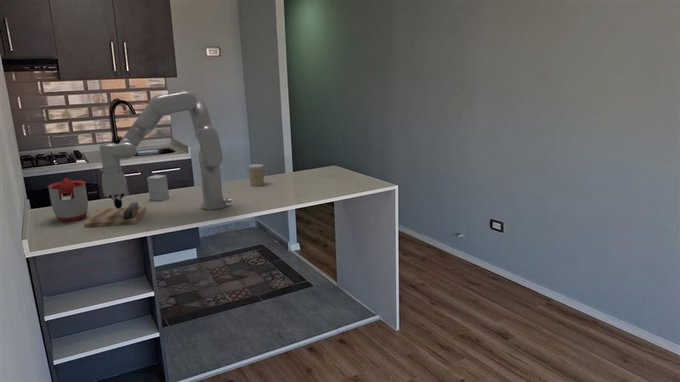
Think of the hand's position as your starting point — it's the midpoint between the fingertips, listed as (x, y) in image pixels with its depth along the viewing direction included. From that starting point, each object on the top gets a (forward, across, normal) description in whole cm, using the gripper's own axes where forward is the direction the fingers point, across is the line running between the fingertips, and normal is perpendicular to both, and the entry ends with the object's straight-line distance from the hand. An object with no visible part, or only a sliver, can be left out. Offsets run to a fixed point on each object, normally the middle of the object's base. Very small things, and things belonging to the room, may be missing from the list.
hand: (118, 207), depth 226 cm
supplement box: (+6, +12, +33) cm, 36 cm away
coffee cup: (+8, +65, +52) cm, 84 cm away
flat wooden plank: (+6, -2, +1) cm, 6 cm away
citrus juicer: (+5, -23, +5) cm, 24 cm away
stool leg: (+3, +5, +1) cm, 6 cm away
